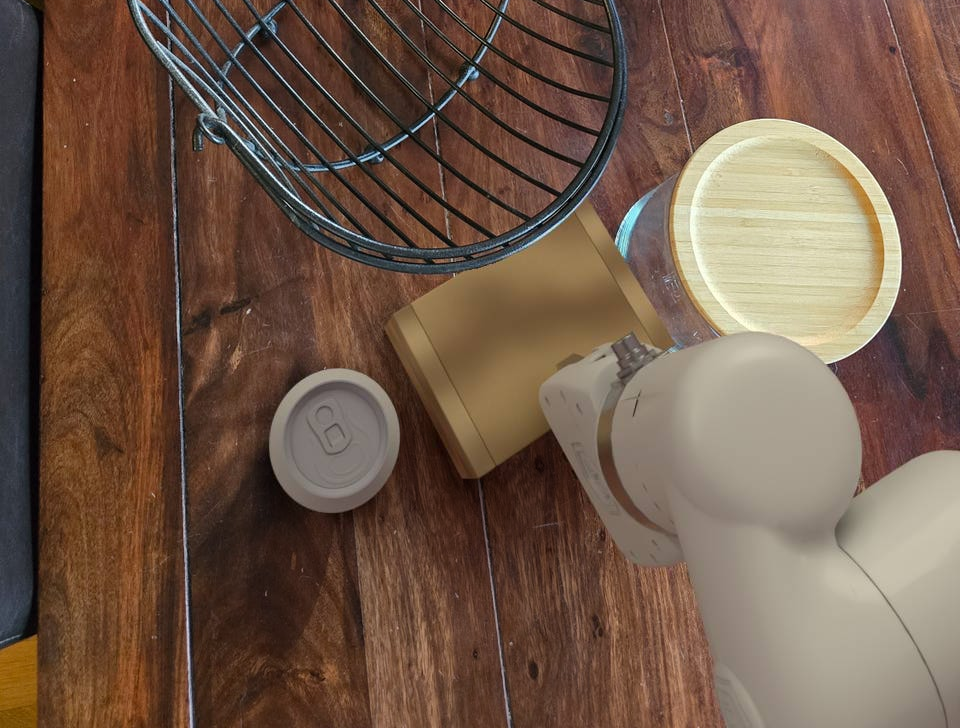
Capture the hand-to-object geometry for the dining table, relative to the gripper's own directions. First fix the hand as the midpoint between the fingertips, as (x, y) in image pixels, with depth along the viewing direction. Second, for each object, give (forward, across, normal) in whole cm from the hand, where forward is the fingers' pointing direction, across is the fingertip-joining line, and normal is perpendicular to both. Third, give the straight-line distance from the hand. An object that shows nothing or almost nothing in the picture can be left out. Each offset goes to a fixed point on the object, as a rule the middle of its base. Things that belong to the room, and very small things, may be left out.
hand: (589, 451), depth 69 cm
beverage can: (+3, -8, -13) cm, 16 cm away
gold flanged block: (+3, -8, 0) cm, 8 cm away
